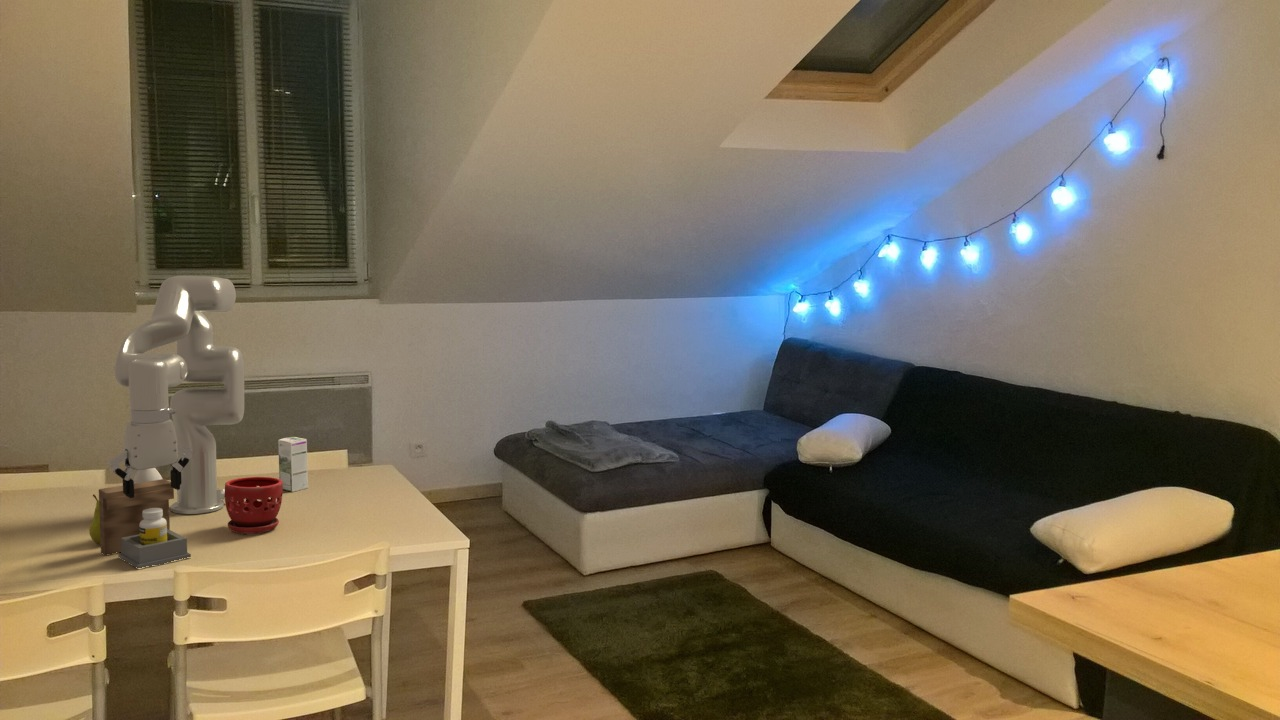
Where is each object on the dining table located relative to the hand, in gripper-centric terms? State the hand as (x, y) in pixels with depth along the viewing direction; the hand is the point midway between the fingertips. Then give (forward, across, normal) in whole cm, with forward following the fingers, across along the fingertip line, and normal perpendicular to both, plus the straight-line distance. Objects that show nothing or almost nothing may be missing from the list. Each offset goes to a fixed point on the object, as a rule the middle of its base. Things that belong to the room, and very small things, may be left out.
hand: (153, 492), depth 213 cm
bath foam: (+15, -6, -17) cm, 24 cm away
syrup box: (+16, -52, -34) cm, 64 cm away
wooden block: (+15, 0, -8) cm, 17 cm away
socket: (+15, 0, +1) cm, 15 cm away
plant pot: (+15, -26, -5) cm, 30 cm away
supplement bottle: (+14, 0, 0) cm, 14 cm away
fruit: (+15, +4, -17) cm, 23 cm away
